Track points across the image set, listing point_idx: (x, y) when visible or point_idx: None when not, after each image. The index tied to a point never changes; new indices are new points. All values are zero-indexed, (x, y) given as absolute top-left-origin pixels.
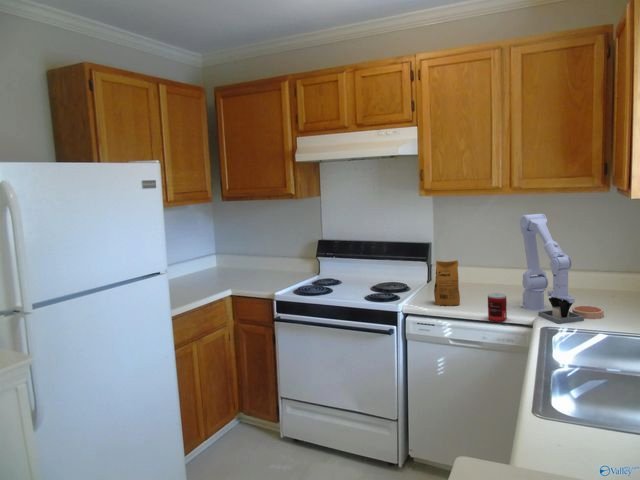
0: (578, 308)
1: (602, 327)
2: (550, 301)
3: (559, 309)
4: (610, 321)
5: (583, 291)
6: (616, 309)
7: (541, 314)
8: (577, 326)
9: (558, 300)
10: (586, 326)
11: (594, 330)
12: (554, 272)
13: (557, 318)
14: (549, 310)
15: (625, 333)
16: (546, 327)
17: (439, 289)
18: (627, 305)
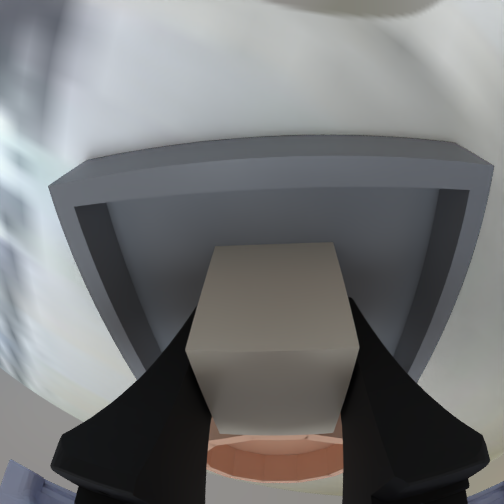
0: None
1: (68, 368)
2: (439, 426)
3: (196, 365)
4: None
5: (492, 453)
6: None
7: (424, 151)
8: (66, 287)
9: (355, 488)
10: (72, 329)
11: (13, 312)
12: None
13: (230, 254)
14: (451, 310)
15: (12, 367)
16: (53, 21)
17: None
18: (334, 490)
